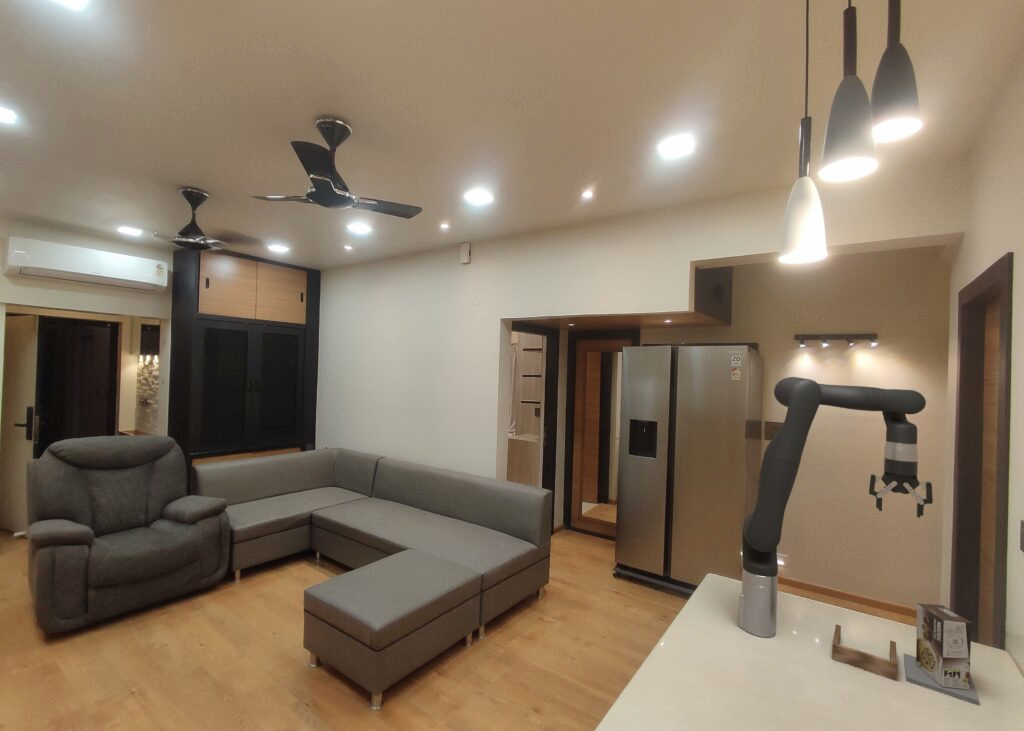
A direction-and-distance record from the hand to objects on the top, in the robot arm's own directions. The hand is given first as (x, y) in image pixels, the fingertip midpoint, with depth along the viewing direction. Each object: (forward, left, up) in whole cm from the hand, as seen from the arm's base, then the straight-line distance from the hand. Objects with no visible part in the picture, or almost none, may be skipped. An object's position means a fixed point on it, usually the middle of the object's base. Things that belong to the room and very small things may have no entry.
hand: (899, 513), depth 137 cm
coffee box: (+8, -17, -35) cm, 40 cm away
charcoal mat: (+8, -17, -36) cm, 41 cm away
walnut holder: (-7, -18, -36) cm, 41 cm away
